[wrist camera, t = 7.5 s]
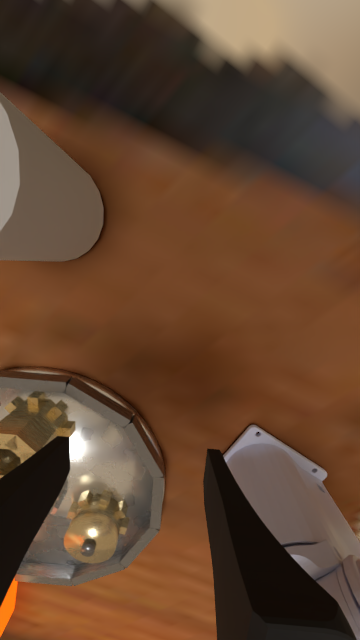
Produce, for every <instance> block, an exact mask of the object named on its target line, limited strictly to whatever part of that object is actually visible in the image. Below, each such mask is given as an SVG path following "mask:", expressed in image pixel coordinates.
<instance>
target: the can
mask: <svg viewBox="0 0 360 640" xmlns="http://www.w3.org/2000/svg"><path fill="white" fill-rule="evenodd" d="M103 212H104V207H103V204H102V200H101V196H100V192H99V190H98V188H97V186H96V185H95V183H94V181H93V180H92V178H91V176H90V175H89V174H88V173H87V172H85V171H84V170H83V169H82V168H81V167H80V166H79V165H78V164H77V163H76V162H75V161H74V160H73V159H71V158H70V157H69V156H68V155H67V154H66V153H65V152H64V151H63V150H62V149H61V148H60V147H59V146H57V145H56V144H55V143H54V142H53V141H52V140H51V139H50V138H49V137H48V136H47V135H46V134H44V133H43V132H42V131H41V130H40V129H39V128H38V127H37V126H36V125H35V124H34V123H33V122H32V121H30V120H29V119H28V118H27V117H26V116H25V115H24V114H23V113H22V112H21V111H20V110H19V109H17V108H16V107H15V106H14V105H13V104H12V103H11V102H10V101H9V100H8V99H7V98H6V97H4V96H3V95H2V94H1V93H0V260H20V261H67V260H72V259H76V258H78V257H80V256H81V255H83V254H85V253H86V252H88V251H89V250H90V249H91V247H92V246H93V245H94V244H95V242H96V241H97V240H98V238H99V235H100V232H101V229H102V226H103Z"/></svg>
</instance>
